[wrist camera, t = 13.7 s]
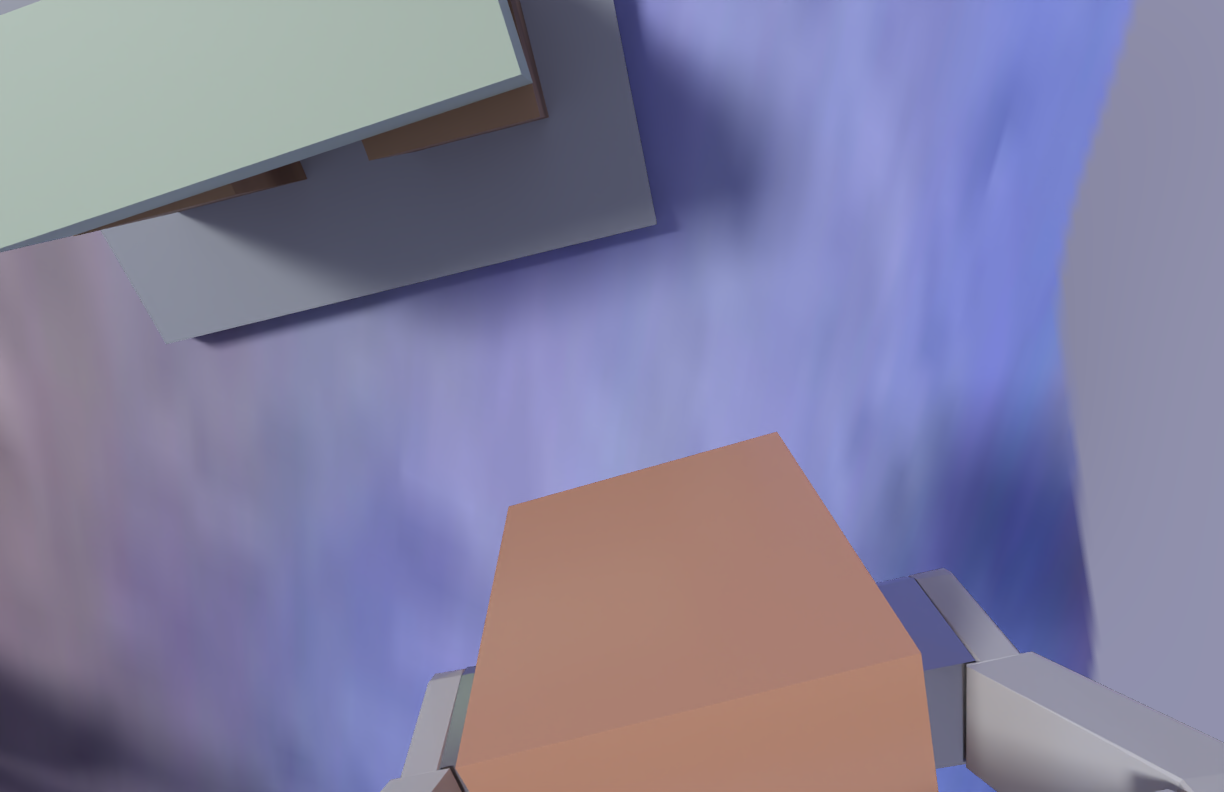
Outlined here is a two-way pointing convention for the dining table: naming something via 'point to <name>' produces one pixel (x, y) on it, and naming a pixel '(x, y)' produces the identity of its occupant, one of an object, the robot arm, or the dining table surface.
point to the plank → (218, 93)
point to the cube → (692, 642)
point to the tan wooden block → (469, 112)
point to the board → (410, 199)
